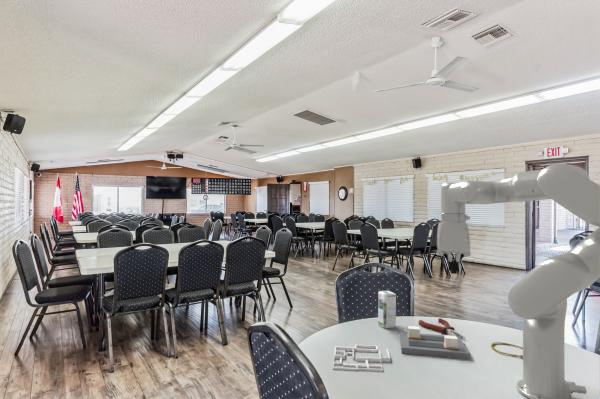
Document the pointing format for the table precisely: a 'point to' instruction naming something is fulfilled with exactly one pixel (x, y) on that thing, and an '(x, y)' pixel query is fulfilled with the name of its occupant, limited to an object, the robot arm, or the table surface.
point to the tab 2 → (451, 341)
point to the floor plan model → (359, 358)
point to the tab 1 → (413, 331)
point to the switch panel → (431, 346)
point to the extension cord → (506, 353)
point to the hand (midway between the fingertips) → (453, 273)
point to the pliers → (441, 328)
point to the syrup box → (386, 309)
